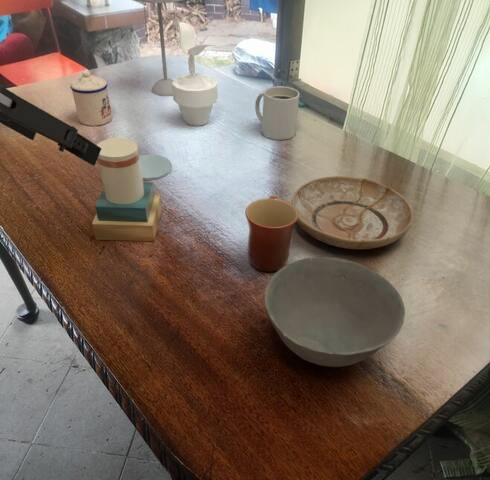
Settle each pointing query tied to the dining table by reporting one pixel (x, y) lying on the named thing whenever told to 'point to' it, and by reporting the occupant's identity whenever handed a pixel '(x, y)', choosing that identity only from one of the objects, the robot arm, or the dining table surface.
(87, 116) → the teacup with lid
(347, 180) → the ceramic bowl
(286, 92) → the mug
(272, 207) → the mug
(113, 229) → the stack
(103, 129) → the dining table surface
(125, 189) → the canister
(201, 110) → the potted plant
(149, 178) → the coaster
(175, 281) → the dining table surface
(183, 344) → the dining table surface
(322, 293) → the bowl
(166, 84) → the lamp
